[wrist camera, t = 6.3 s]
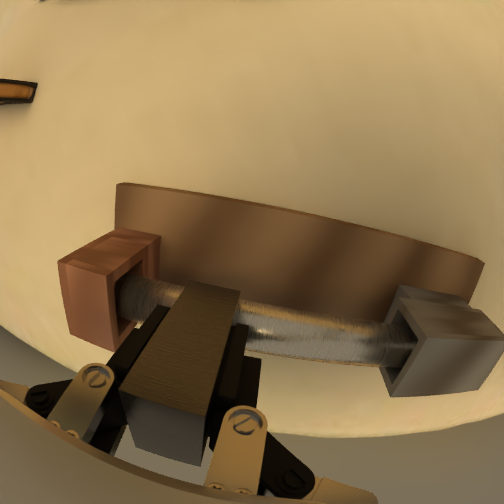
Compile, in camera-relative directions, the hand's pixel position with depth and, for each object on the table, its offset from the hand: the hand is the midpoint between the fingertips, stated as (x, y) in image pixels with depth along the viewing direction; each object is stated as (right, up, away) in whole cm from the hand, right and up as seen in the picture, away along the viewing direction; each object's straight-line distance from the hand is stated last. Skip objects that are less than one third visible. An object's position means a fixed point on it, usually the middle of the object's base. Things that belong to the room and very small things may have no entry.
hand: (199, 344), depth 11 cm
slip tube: (+3, 0, +3) cm, 5 cm away
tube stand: (+6, +1, +7) cm, 9 cm away
